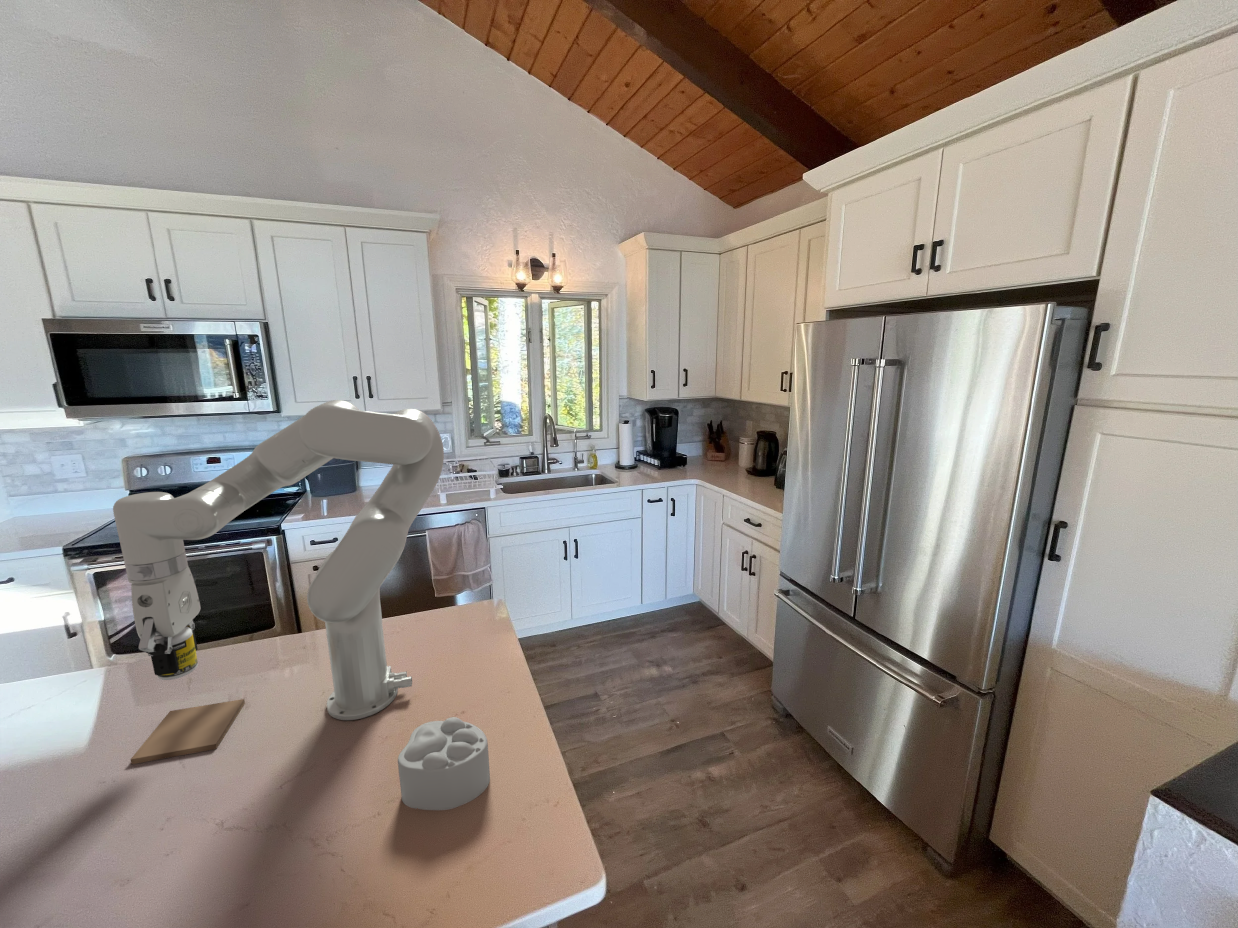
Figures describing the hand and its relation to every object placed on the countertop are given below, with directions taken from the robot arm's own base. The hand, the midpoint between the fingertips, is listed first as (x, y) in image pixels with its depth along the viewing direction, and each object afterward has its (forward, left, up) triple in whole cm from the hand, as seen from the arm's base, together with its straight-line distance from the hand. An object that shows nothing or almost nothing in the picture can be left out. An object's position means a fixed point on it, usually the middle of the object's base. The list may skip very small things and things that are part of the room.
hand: (177, 661), depth 88 cm
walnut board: (0, 0, -14) cm, 14 cm away
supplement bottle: (0, 0, -2) cm, 2 cm away
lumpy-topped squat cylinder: (-45, +24, -15) cm, 53 cm away
